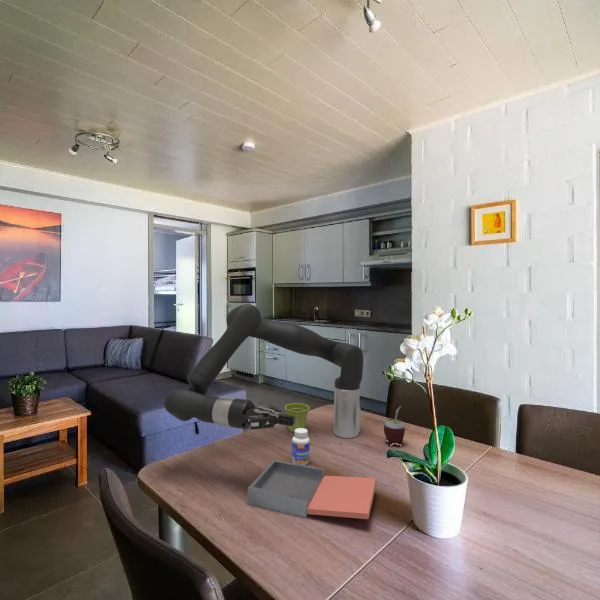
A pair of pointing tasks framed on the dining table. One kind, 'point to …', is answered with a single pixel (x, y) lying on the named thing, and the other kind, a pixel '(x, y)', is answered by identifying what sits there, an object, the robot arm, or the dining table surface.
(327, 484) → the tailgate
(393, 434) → the mate gourd
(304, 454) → the pill bottle
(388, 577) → the dining table surface
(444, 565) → the dining table surface
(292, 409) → the plant pot
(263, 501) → the grey square tray
